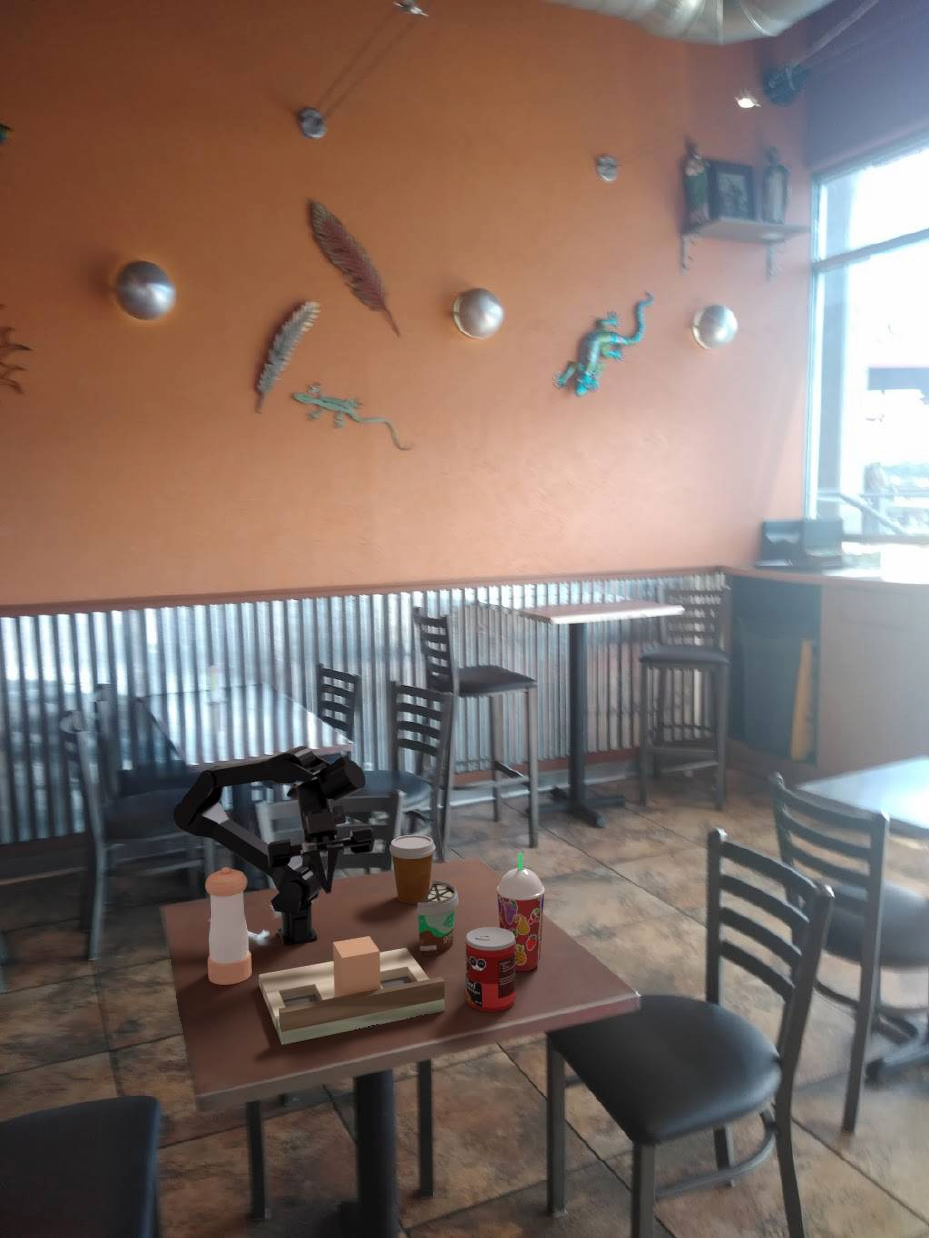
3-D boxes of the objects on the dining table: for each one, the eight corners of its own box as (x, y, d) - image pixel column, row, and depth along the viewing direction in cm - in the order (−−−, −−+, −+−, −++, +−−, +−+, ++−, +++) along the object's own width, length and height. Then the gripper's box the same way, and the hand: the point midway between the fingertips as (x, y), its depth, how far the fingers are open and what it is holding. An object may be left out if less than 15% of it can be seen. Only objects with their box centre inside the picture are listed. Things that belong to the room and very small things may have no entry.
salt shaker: (238, 987, 164) (233, 877, 162) (200, 981, 166) (195, 873, 164) (259, 968, 171) (255, 862, 169) (222, 963, 173) (218, 858, 171)
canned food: (464, 991, 162) (463, 927, 160) (512, 988, 162) (511, 925, 161) (468, 1014, 154) (467, 947, 153) (518, 1011, 155) (518, 945, 153)
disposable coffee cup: (418, 910, 195) (417, 852, 194) (380, 900, 200) (379, 844, 199) (445, 894, 203) (444, 838, 202) (408, 885, 208) (407, 831, 207)
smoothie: (551, 958, 173) (551, 849, 171) (535, 978, 165) (534, 865, 163) (508, 950, 176) (507, 843, 174) (490, 969, 169) (488, 858, 167)
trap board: (259, 985, 164) (258, 957, 164) (406, 958, 174) (405, 931, 173) (281, 1044, 146) (280, 1013, 145) (444, 1010, 155) (444, 980, 155)
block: (334, 996, 156) (332, 942, 155) (370, 989, 158) (369, 935, 158) (343, 1013, 151) (342, 957, 150) (381, 1006, 153) (379, 951, 152)
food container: (451, 960, 173) (450, 906, 172) (418, 957, 174) (416, 904, 173) (465, 931, 185) (464, 880, 184) (433, 929, 186) (433, 878, 185)
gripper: (263, 799, 169) (274, 884, 160) (369, 783, 174) (385, 866, 165) (263, 826, 178) (274, 908, 169) (364, 811, 183) (379, 890, 174)
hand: (328, 892), depth 169 cm, fingers closed
